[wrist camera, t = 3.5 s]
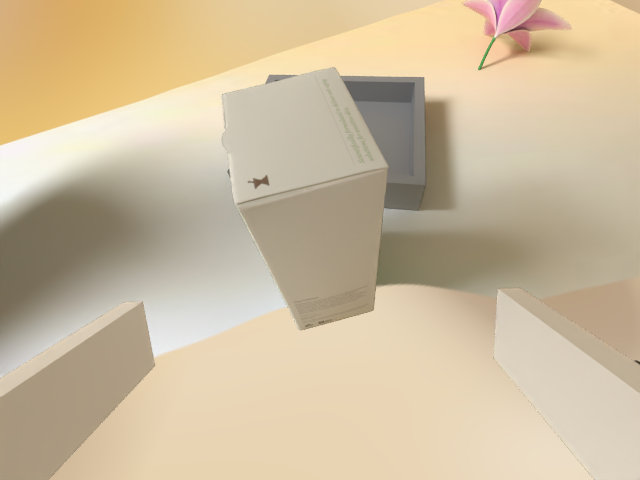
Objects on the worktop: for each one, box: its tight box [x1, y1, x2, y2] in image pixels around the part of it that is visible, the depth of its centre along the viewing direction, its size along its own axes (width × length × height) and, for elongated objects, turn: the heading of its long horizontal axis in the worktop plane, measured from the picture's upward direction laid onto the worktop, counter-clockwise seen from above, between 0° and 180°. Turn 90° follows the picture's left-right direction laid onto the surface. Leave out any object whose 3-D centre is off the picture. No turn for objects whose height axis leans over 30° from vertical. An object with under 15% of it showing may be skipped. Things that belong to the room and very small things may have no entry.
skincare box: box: [221, 67, 389, 330], centre depth 21 cm, size 8×7×16 cm
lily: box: [462, 0, 572, 69], centre depth 40 cm, size 12×12×10 cm
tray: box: [228, 75, 426, 210], centre depth 34 cm, size 18×16×4 cm
